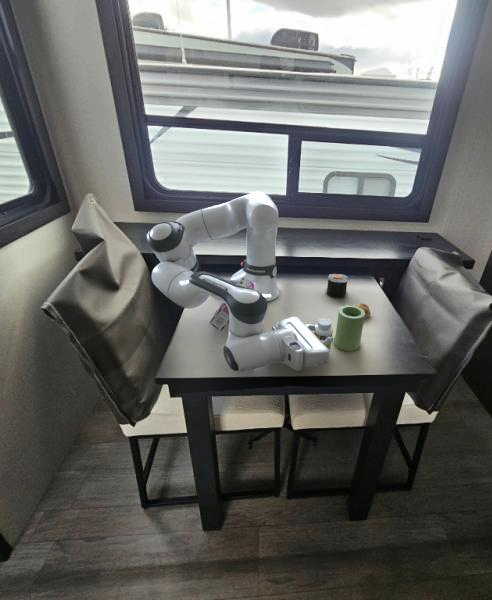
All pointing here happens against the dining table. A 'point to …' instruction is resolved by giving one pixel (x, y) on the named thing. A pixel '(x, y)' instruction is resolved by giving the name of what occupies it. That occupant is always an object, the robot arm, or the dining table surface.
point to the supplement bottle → (324, 330)
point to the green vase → (349, 327)
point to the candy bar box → (222, 312)
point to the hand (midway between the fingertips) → (325, 332)
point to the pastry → (365, 308)
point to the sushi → (337, 285)
